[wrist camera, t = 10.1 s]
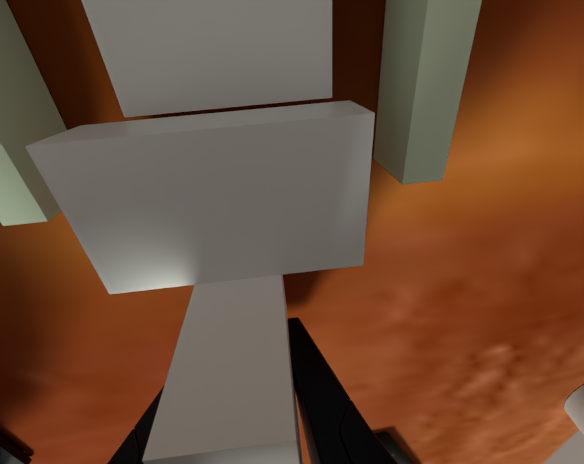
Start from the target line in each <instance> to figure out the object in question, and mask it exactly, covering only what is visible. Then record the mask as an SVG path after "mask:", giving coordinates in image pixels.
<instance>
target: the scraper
mask: <svg viewBox="0 0 584 464" xmlns="http://www.w3.org/2000/svg"><path fill="white" fill-rule="evenodd" d="M374 119H375V113H374V112H372V111H370V110H368V109H366V108H364V107H362V106H360V105H358V104H356V103H354V102H352V101H350V100H347V101H337V102H326V103H315V104H304V105H294V106H283V107H272V108H262V109H251V110H240V111H229V112H219V113H208V114H197V115H186V116H176V117H165V118H154V119H143V120H133V121H122V122H111V123H101V124H90V125H80V126H77V127H75V128H72V129H69V130H67V131H64V132H61V133H59V134H56V135H53V136H51V137H48V138H45V139H43V140H40V141H38V142H35V143H32V144H30V145H27V146H25V148H26V149H27V151H28V153H29V155H30V156H31V158H32V160H33V162H34V163H35V165H36V167H37V169H38V170H39V172H40V174H41V176H42V177H43V179H44V181H45V183H46V184H47V186H48V188H49V190H50V191H51V193H52V195H53V197H54V198H55V200H56V202H57V203H58V205H59V207H60V209H61V210H62V212H63V214H64V216H65V217H66V219H67V221H68V223H69V224H70V226H71V228H72V230H73V231H74V233H75V235H76V237H77V238H78V240H79V242H80V244H81V245H82V247H83V249H84V251H85V252H86V254H87V256H88V258H89V259H90V261H91V263H92V265H93V266H94V268H95V270H96V272H97V273H98V275H99V277H100V279H101V280H102V282H103V284H104V286H105V287H106V289H107V291H108V293H109V294H117V293H125V292H134V291H143V290H152V289H160V288H169V287H178V286H187V285H194V288H193V292H192V295H191V298H190V302H189V305H188V309H187V312H186V315H185V319H184V322H183V325H182V329H181V332H180V335H179V339H178V342H177V345H176V349H175V352H174V355H173V359H172V362H171V365H170V369H169V372H168V376H167V379H166V382H165V386H164V389H163V392H162V396H161V399H160V402H159V406H158V409H157V412H156V416H155V419H154V422H153V426H152V429H151V432H150V436H149V439H148V442H147V446H146V449H145V453H144V456H143V459H142V462H143V463H144V464H303V456H302V446H301V436H300V426H299V416H298V406H297V397H296V393H295V387H294V379H293V371H292V363H291V354H290V344H289V332H288V321H287V319H288V314H287V306H286V297H285V289H284V280H283V274H291V273H300V272H309V271H317V270H326V269H335V268H344V267H352V266H361V265H363V261H364V248H365V235H366V223H367V210H368V197H369V184H370V171H371V158H372V145H373V132H374Z"/></svg>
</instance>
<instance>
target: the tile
mask: <svg viewBox="0 0 584 464" xmlns="http://www.w3.org/2000/svg"><path fill="white" fill-rule="evenodd" d="M81 1H82V4H83V6H84V9H85V12H86V15H87V17H88V20H89V23H90V25H91V28H92V31H93V34H94V36H95V39H96V42H97V44H98V47H99V50H100V53H101V55H102V58H103V61H104V63H105V66H106V69H107V72H108V74H109V77H110V80H111V83H112V85H113V88H114V91H115V93H116V96H117V99H118V102H119V104H120V107H121V110H122V112H123V115H124V117H135V116H145V115H156V114H166V113H177V112H187V111H198V110H208V109H219V108H229V107H240V106H250V105H261V104H271V103H282V102H292V101H303V100H313V99H324V98H332V0H81Z"/></svg>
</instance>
